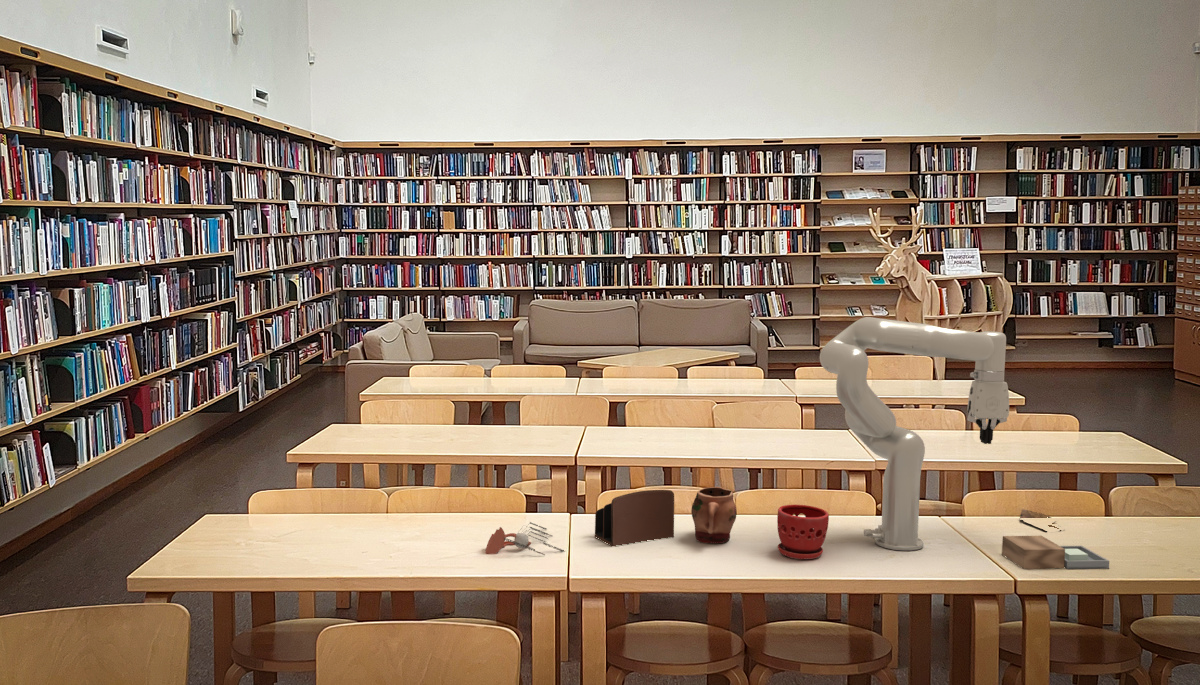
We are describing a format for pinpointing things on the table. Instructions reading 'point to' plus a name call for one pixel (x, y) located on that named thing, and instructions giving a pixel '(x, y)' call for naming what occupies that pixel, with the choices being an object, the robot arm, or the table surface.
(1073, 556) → the tile
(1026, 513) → the wooden fragment
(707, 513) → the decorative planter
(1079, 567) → the box
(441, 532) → the table surface
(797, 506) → the plant pot
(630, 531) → the letter holder
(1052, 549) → the brown wooden box
